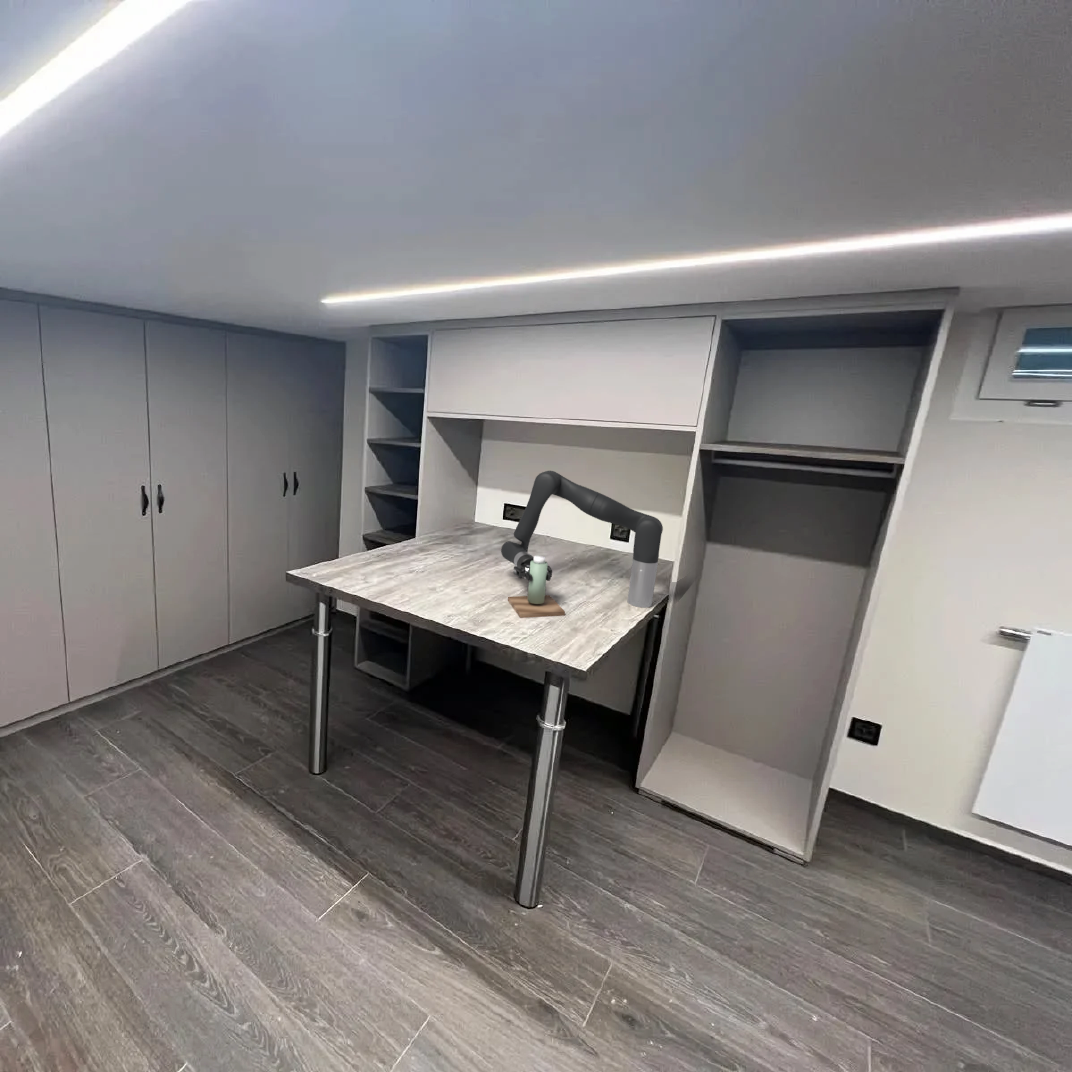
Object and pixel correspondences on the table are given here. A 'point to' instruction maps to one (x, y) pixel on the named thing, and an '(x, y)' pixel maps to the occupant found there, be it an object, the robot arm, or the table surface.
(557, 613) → the brown wooden flat square
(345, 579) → the table surface
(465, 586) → the table surface
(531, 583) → the bottle
